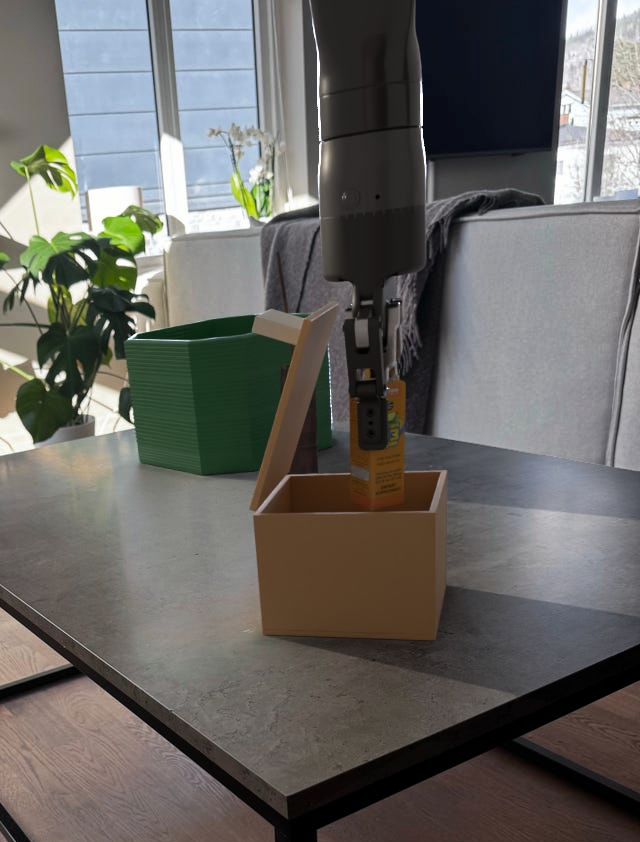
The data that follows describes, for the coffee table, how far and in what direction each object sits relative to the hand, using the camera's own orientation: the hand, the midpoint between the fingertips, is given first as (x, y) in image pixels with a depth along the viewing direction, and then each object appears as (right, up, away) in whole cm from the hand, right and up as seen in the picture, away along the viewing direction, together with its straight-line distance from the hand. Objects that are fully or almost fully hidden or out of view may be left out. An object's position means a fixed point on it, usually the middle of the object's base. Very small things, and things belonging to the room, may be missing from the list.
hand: (377, 440), depth 73 cm
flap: (-6, +3, +1) cm, 7 cm away
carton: (0, -13, +7) cm, 15 cm away
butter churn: (+2, +5, +47) cm, 47 cm away
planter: (-6, +13, +68) cm, 70 cm away
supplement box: (+1, -5, +2) cm, 5 cm away
